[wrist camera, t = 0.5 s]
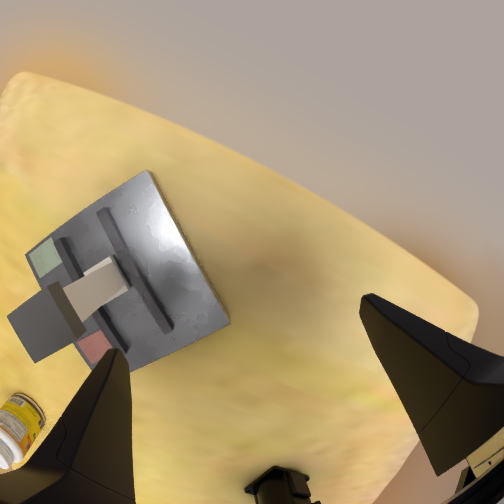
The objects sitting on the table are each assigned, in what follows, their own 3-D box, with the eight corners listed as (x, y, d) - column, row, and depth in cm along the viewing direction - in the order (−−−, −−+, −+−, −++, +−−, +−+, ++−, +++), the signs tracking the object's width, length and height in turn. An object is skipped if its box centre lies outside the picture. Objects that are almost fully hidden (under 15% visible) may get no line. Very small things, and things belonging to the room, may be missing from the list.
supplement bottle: (35, 430, 24) (5, 477, 14) (7, 399, 23) (-30, 441, 13) (53, 419, 24) (21, 471, 14) (23, 385, 23) (-19, 431, 13)
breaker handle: (134, 285, 22) (79, 341, 11) (101, 304, 22) (35, 365, 11) (116, 252, 21) (45, 284, 11) (83, 273, 21) (5, 314, 10)
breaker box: (229, 315, 25) (231, 328, 22) (108, 374, 25) (99, 389, 22) (152, 173, 23) (143, 167, 20) (35, 251, 22) (19, 256, 19)
